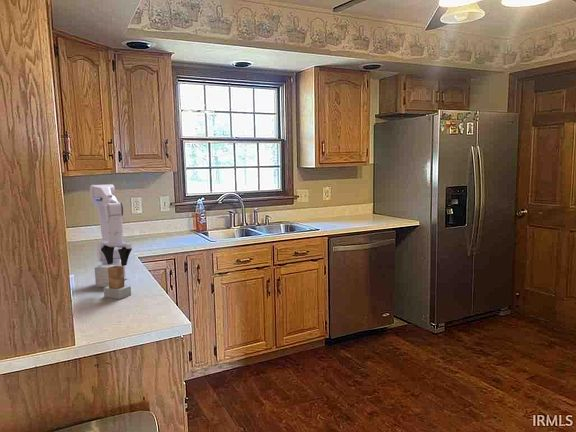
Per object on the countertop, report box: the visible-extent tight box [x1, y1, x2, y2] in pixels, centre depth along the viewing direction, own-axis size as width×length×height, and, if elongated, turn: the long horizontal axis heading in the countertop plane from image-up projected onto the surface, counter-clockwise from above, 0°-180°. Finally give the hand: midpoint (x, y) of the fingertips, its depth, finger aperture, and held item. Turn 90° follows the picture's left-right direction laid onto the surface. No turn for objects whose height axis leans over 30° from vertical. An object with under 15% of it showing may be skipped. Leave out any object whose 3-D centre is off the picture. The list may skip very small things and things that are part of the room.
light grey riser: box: [103, 284, 132, 300], centre depth 171 cm, size 6×8×4 cm
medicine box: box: [94, 264, 117, 288], centre depth 184 cm, size 8×4×9 cm, turn 91°
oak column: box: [108, 266, 125, 289], centre depth 170 cm, size 4×4×8 cm
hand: (117, 264), depth 178 cm, fingers open, 7 cm apart
